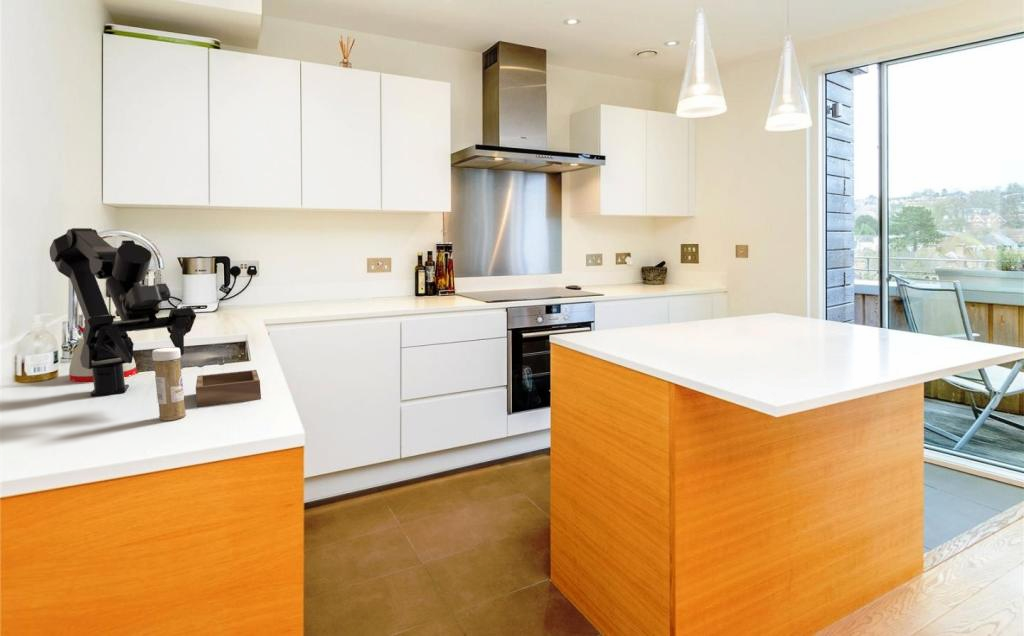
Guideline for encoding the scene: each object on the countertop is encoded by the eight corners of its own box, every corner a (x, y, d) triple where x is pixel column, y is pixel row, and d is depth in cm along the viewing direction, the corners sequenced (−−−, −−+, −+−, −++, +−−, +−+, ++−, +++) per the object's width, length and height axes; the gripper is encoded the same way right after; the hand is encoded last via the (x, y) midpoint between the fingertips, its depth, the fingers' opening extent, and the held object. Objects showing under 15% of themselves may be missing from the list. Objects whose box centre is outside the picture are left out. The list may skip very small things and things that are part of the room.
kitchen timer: (75, 374, 149) (68, 317, 147) (138, 368, 155) (132, 313, 153) (65, 385, 137) (58, 323, 135) (134, 378, 143) (128, 319, 141)
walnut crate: (198, 393, 128) (197, 375, 127) (257, 386, 133) (256, 369, 133) (197, 406, 117) (195, 387, 117) (261, 398, 123) (259, 380, 122)
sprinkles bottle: (187, 418, 109) (180, 349, 108) (159, 423, 107) (152, 352, 105) (185, 412, 113) (179, 345, 111) (158, 416, 111) (151, 348, 109)
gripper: (80, 273, 105) (108, 338, 100) (188, 268, 120) (217, 325, 114) (71, 313, 111) (98, 376, 106) (175, 304, 126) (202, 359, 120)
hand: (157, 357), depth 111 cm, fingers open, 9 cm apart
